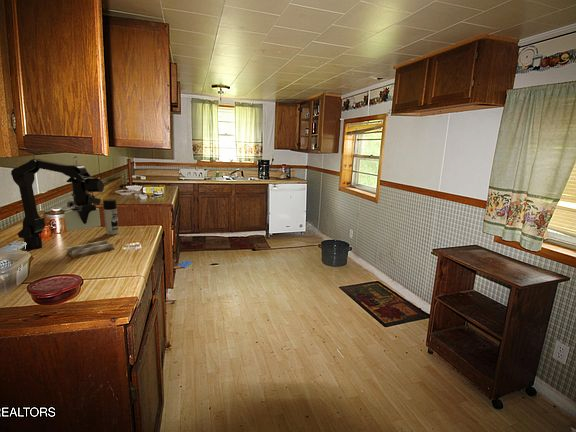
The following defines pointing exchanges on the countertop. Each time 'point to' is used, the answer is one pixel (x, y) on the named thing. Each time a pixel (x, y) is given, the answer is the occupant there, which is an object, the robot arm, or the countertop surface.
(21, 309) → the countertop surface
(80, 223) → the pale green rectangular block
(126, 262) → the countertop surface
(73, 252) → the bottom track
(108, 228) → the spray can
